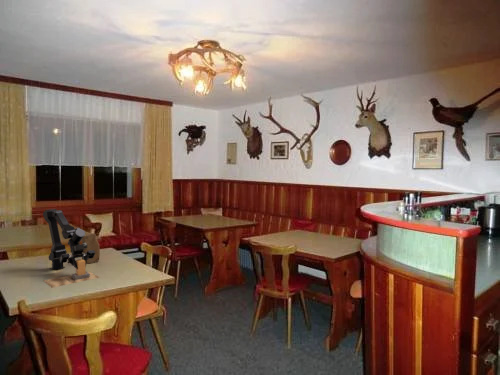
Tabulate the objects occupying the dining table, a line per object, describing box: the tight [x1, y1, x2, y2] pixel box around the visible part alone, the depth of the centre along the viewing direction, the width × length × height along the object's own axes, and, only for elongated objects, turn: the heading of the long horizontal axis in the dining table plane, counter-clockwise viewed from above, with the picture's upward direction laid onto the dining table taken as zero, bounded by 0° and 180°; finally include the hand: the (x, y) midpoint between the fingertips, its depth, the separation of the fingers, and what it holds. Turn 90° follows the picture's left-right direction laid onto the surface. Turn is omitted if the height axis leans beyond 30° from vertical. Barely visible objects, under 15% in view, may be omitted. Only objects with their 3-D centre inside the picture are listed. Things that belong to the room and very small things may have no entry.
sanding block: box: [71, 258, 90, 280], centre depth 211 cm, size 8×7×10 cm
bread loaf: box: [81, 232, 101, 265], centre depth 246 cm, size 11×8×20 cm
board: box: [43, 271, 101, 289], centre depth 208 cm, size 26×16×1 cm, turn 134°
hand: (81, 268), depth 210 cm, fingers closed on sanding block, 4 cm apart
